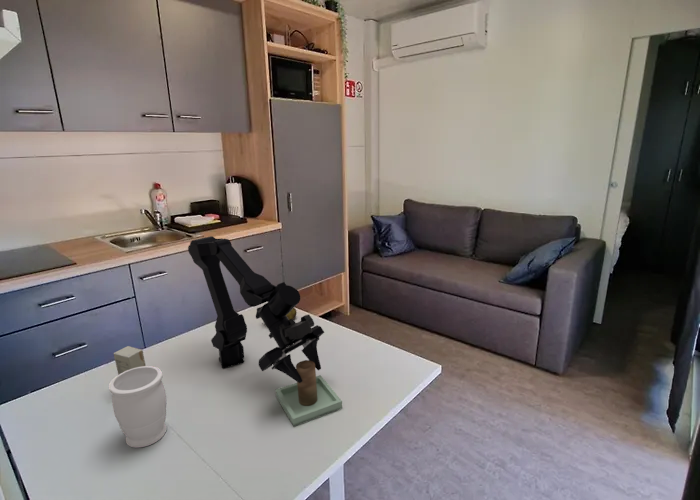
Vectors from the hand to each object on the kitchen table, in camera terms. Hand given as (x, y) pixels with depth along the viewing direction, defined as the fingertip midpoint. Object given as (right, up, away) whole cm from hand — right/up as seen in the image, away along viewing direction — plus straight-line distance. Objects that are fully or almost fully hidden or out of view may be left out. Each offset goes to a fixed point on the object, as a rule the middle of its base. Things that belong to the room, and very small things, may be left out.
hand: (310, 375), depth 96 cm
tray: (-1, -8, +3) cm, 8 cm away
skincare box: (-49, -7, +9) cm, 50 cm away
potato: (-16, +4, +48) cm, 51 cm away
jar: (-37, -12, -7) cm, 40 cm away
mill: (-1, -7, +3) cm, 8 cm away
